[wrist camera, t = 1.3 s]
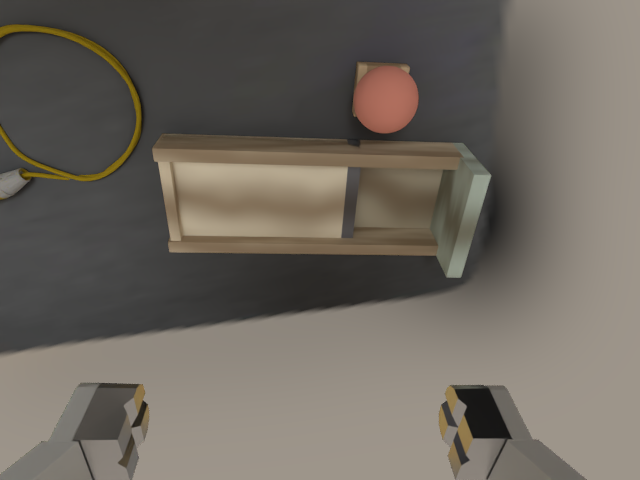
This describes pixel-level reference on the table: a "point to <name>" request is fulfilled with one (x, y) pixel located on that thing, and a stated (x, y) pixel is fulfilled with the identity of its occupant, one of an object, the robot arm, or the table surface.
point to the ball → (386, 99)
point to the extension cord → (16, 179)
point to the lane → (321, 196)
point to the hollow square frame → (368, 66)
